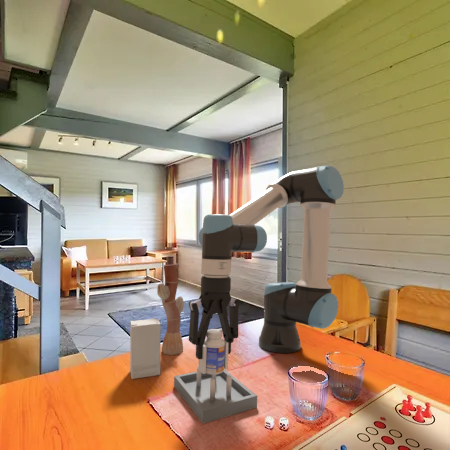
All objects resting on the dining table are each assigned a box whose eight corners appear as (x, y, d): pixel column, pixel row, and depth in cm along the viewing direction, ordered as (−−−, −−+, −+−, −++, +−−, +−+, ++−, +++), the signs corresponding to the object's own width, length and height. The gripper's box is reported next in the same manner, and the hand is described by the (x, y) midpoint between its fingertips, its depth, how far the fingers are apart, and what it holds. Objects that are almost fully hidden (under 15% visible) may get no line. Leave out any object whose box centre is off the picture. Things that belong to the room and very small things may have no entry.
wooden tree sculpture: (180, 345, 111) (182, 262, 112) (188, 352, 105) (190, 264, 106) (151, 350, 106) (154, 262, 107) (157, 357, 100) (160, 264, 101)
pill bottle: (221, 376, 73) (222, 335, 74) (199, 373, 74) (201, 333, 75) (226, 367, 79) (227, 328, 79) (205, 365, 80) (206, 327, 80)
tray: (173, 386, 81) (174, 362, 81) (220, 375, 88) (221, 353, 88) (202, 423, 65) (203, 394, 66) (257, 407, 72) (257, 380, 72)
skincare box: (157, 367, 93) (159, 317, 93) (160, 376, 87) (162, 323, 87) (128, 371, 90) (130, 319, 90) (129, 380, 84) (131, 325, 85)
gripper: (187, 279, 70) (184, 383, 69) (254, 276, 79) (252, 368, 78) (176, 275, 77) (172, 370, 76) (239, 272, 85) (236, 358, 84)
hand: (213, 369), depth 77 cm, fingers closed on pill bottle, 5 cm apart
